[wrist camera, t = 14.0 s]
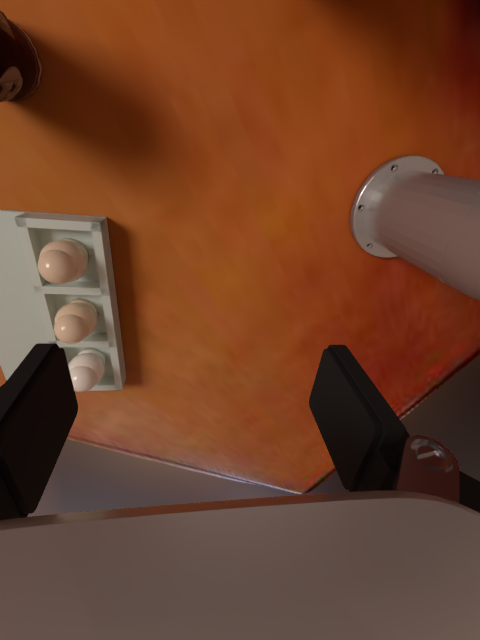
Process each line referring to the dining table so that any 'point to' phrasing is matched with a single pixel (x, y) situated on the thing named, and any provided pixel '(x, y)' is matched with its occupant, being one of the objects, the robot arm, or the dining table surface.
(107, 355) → the egg carton
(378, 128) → the dining table surface
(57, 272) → the brown egg end
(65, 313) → the brown egg middle
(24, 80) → the coffee cup
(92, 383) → the white egg shape
